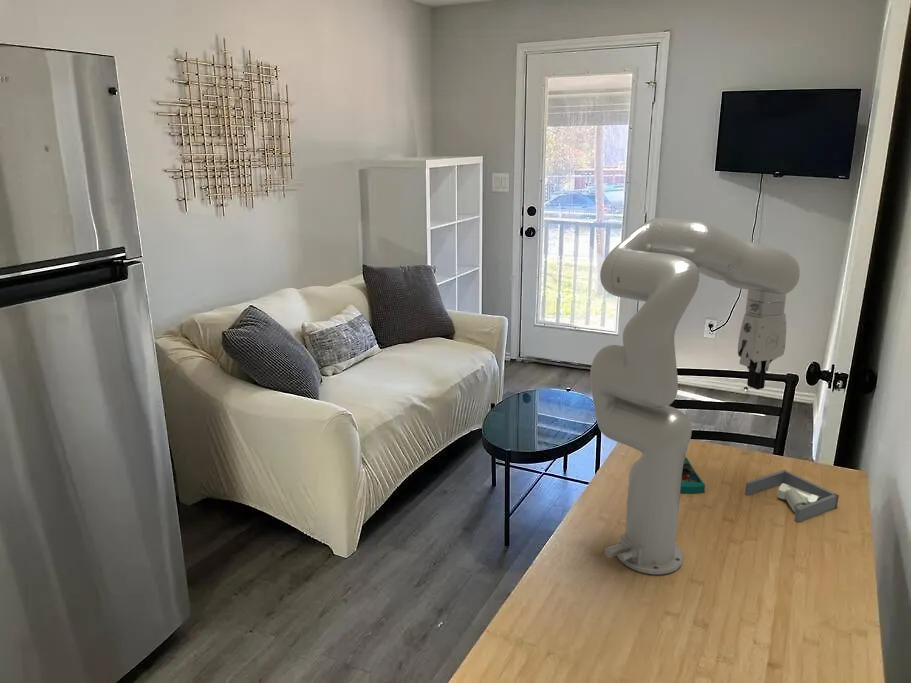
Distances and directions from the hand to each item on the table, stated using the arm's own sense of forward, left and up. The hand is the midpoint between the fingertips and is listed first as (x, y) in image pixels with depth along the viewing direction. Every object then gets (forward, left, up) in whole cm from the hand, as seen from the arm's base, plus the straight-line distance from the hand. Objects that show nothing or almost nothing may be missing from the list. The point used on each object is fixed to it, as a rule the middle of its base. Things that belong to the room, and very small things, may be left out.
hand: (755, 387), depth 147 cm
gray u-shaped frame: (+4, -9, -25) cm, 27 cm away
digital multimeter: (-9, +10, -26) cm, 29 cm away
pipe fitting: (+3, -11, -26) cm, 28 cm away
